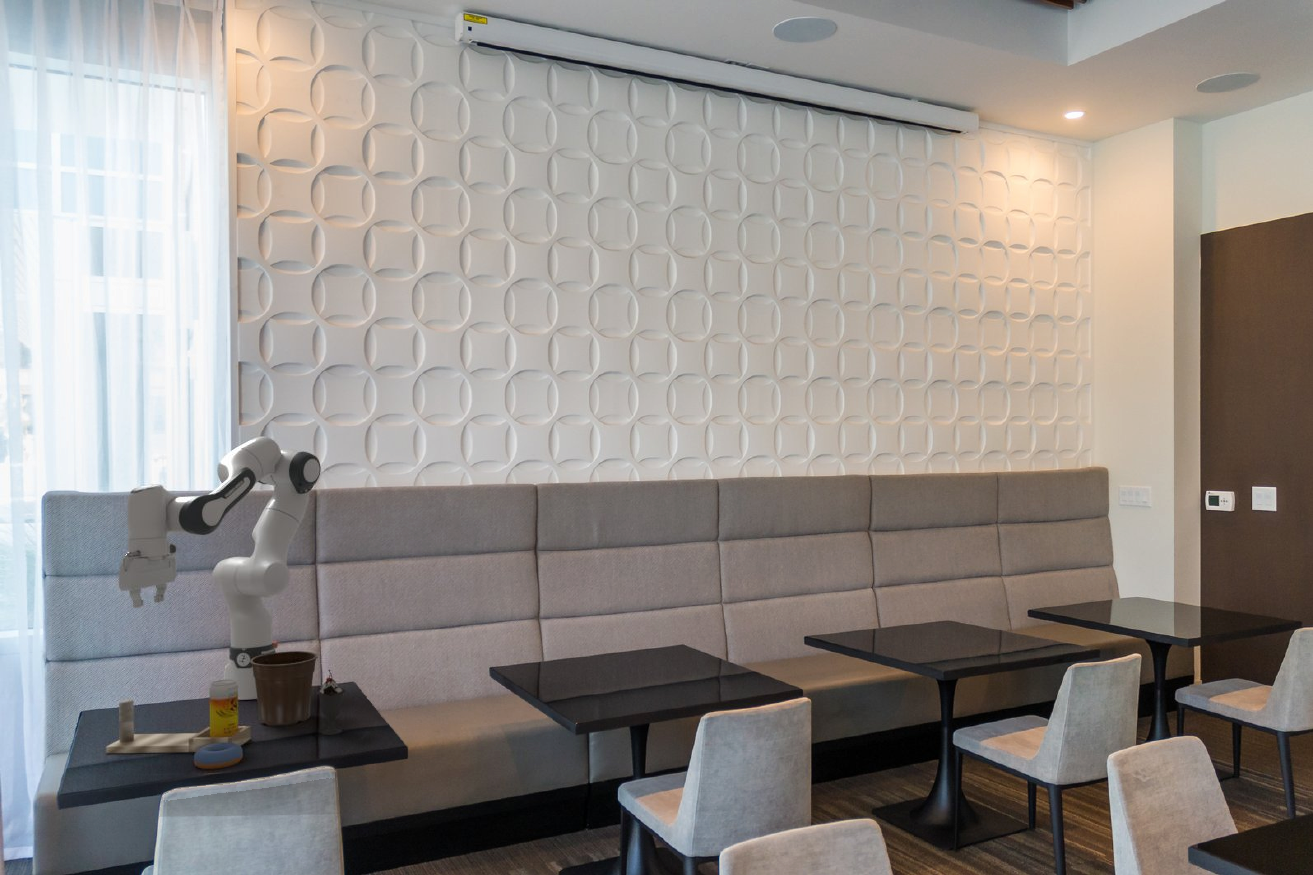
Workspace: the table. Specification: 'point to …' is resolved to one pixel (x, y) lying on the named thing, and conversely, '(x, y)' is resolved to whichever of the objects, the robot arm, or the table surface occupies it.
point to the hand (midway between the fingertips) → (148, 604)
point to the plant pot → (284, 686)
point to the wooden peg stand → (164, 737)
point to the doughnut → (218, 755)
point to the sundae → (331, 703)
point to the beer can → (223, 708)
